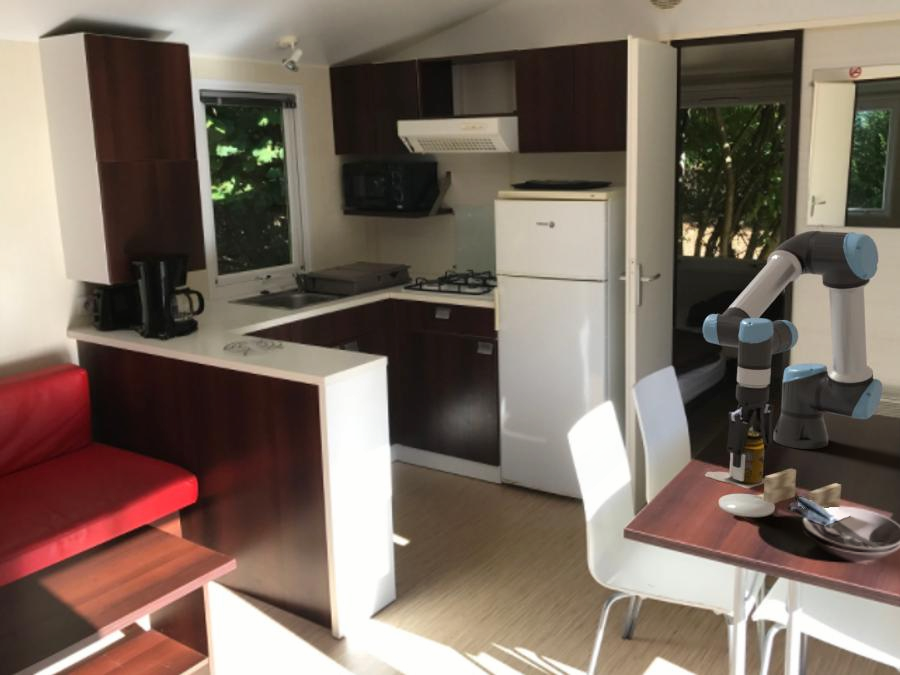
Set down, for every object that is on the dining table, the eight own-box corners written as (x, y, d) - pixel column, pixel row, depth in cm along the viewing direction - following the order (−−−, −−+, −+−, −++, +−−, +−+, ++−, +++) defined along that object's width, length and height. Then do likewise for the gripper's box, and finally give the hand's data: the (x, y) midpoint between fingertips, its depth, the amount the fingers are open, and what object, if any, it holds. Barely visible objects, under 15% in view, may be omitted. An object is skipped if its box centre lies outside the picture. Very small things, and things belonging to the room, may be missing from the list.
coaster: (742, 492, 232) (742, 489, 231) (786, 509, 221) (786, 506, 221) (707, 504, 225) (707, 501, 225) (750, 521, 214) (750, 518, 214)
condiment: (769, 481, 220) (772, 433, 218) (748, 489, 215) (750, 440, 213) (744, 473, 226) (746, 426, 223) (722, 480, 221) (724, 433, 219)
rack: (779, 491, 232) (781, 464, 231) (850, 516, 216) (852, 488, 214) (753, 499, 227) (754, 472, 226) (824, 526, 211) (826, 497, 209)
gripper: (766, 375, 225) (760, 464, 229) (713, 386, 215) (708, 480, 219) (792, 381, 218) (786, 473, 223) (738, 393, 208) (733, 489, 213)
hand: (747, 476), depth 221 cm, fingers closed on condiment, 6 cm apart
